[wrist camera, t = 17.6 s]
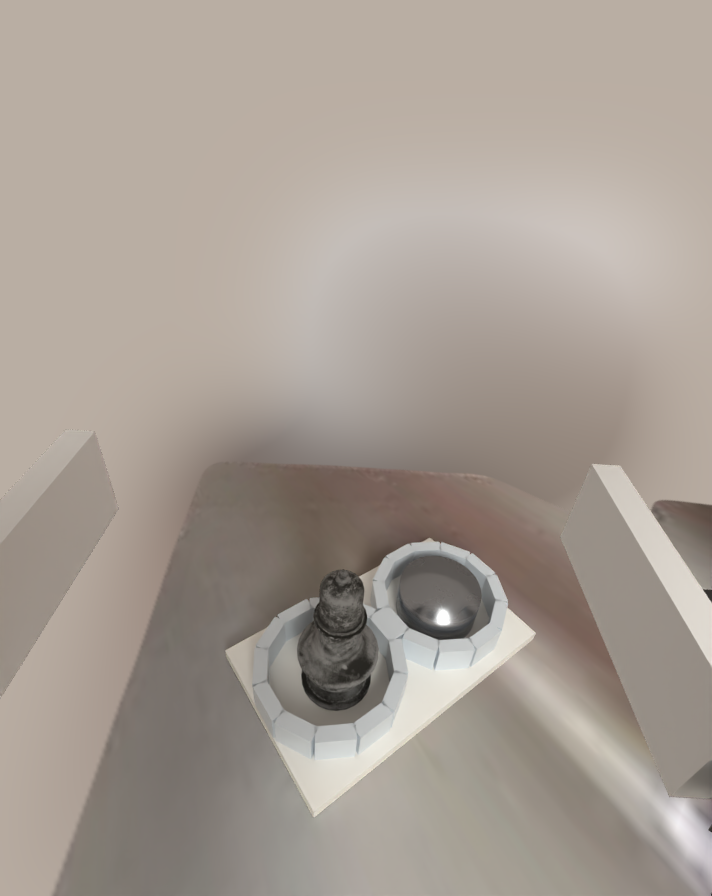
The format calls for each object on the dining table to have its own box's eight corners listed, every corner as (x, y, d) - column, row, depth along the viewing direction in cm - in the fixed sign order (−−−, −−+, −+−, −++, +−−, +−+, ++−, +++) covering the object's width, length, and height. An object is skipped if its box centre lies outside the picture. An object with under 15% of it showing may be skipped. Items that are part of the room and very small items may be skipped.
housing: (428, 544, 50) (433, 519, 48) (532, 639, 42) (544, 614, 40) (226, 657, 39) (221, 631, 37) (313, 818, 30) (314, 796, 28)
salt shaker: (310, 633, 40) (311, 527, 33) (381, 650, 39) (397, 545, 32) (286, 703, 35) (281, 597, 28) (366, 724, 34) (382, 620, 27)
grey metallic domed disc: (436, 566, 46) (441, 544, 44) (490, 618, 42) (498, 596, 40) (380, 600, 43) (383, 577, 41) (433, 660, 38) (439, 638, 37)
